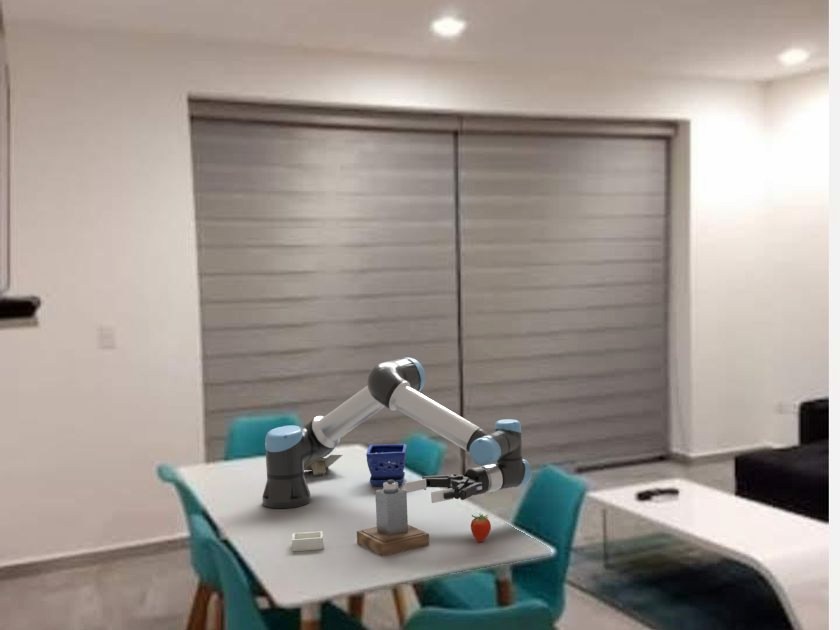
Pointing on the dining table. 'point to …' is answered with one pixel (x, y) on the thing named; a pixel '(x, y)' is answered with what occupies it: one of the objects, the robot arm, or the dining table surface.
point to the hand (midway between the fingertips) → (418, 492)
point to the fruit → (480, 527)
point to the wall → (321, 464)
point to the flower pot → (386, 463)
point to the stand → (392, 540)
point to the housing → (391, 509)
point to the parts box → (307, 541)
